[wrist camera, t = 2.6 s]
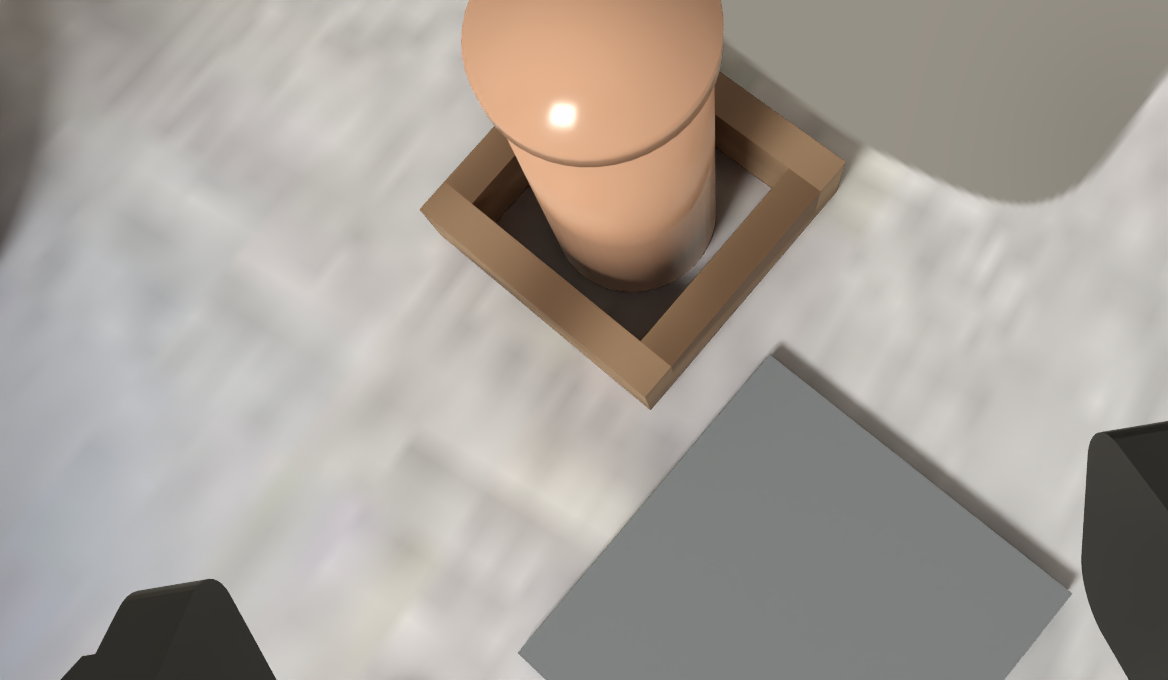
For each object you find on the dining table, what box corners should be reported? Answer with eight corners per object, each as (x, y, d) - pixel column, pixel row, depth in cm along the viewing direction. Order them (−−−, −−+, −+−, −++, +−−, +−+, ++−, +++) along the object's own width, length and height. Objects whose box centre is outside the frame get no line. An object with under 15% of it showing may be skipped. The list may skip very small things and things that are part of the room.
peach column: (736, 279, 33) (746, 123, 21) (562, 312, 33) (479, 176, 22) (695, 70, 35) (682, -180, 23) (529, 103, 35) (437, -124, 24)
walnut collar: (440, 234, 35) (419, 209, 32) (619, 33, 35) (612, -6, 33) (650, 410, 32) (645, 397, 30) (836, 191, 33) (846, 162, 31)
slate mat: (520, 651, 31) (517, 653, 31) (768, 357, 32) (769, 354, 32) (806, 922, 29) (807, 928, 28) (1066, 592, 30) (1072, 593, 29)
